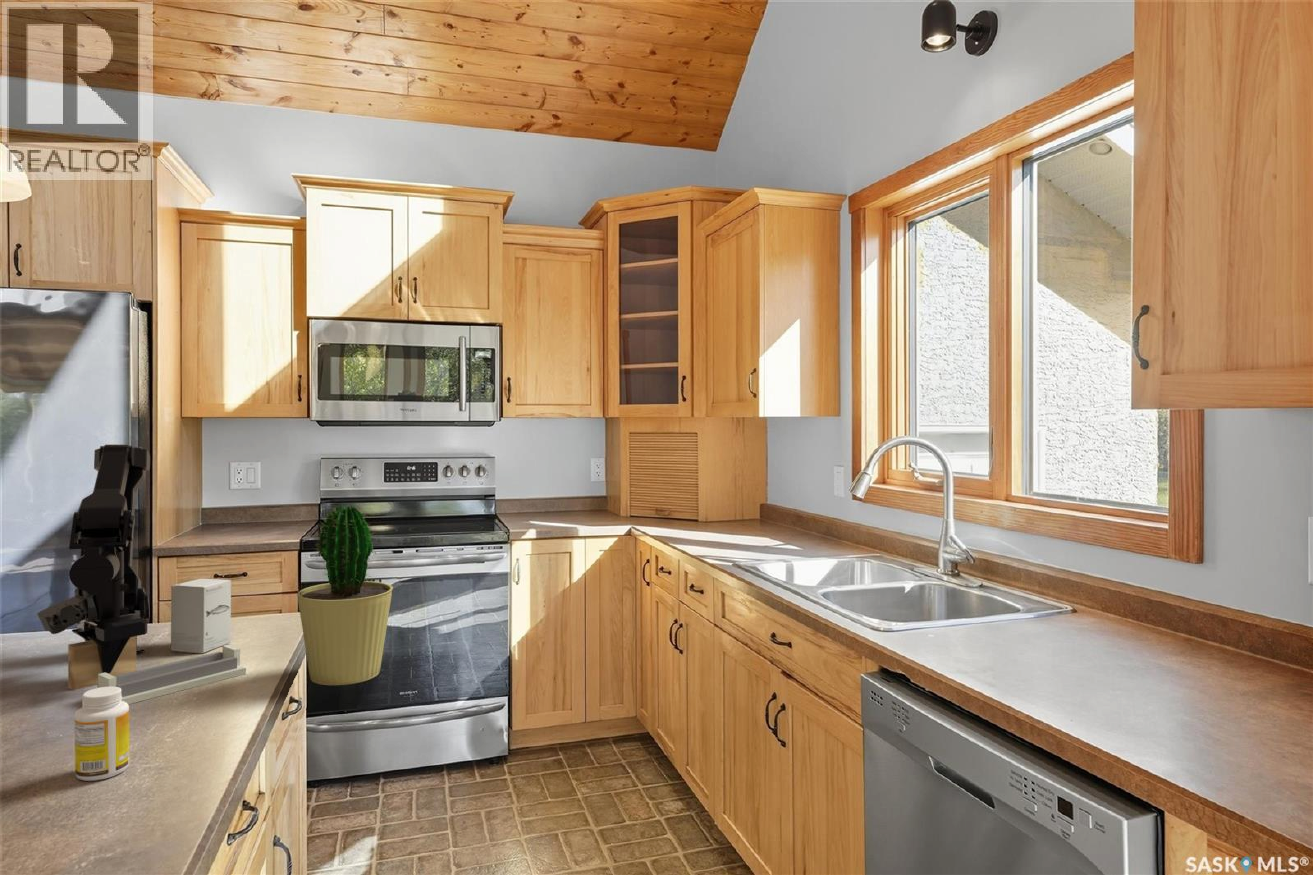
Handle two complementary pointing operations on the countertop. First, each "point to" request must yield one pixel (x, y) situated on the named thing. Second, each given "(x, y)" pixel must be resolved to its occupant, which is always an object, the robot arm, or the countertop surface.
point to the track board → (175, 675)
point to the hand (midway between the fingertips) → (103, 672)
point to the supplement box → (200, 615)
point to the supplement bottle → (101, 735)
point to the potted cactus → (345, 605)
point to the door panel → (96, 663)
